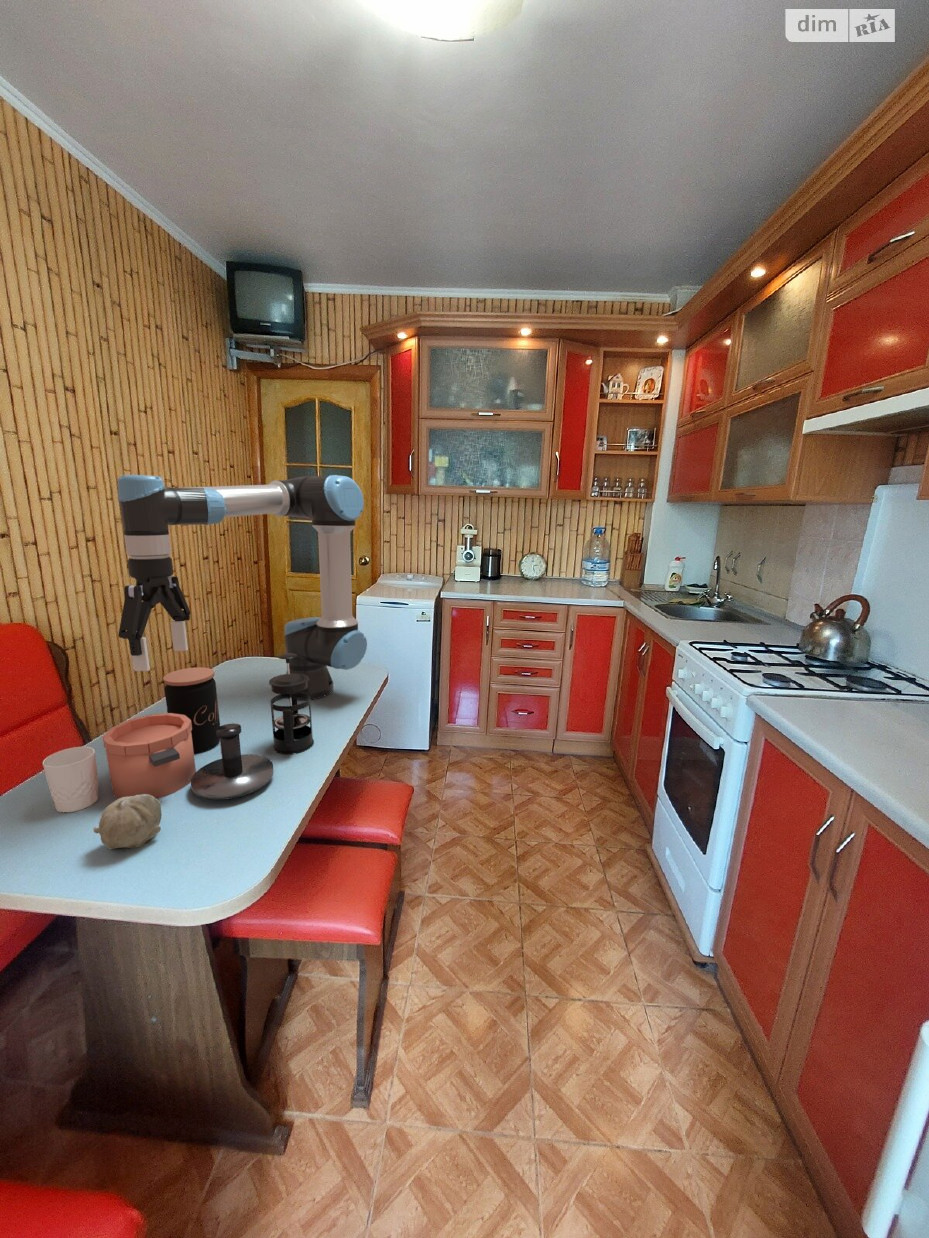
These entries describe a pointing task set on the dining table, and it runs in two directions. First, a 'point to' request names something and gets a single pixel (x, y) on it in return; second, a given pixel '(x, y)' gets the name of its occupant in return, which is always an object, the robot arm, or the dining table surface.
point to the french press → (291, 712)
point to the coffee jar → (195, 703)
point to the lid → (231, 769)
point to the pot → (150, 755)
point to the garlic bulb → (130, 821)
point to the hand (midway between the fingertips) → (162, 659)
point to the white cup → (72, 778)
